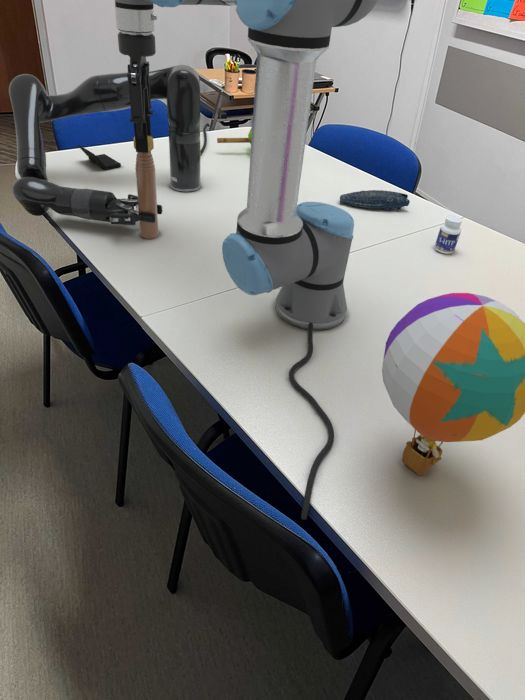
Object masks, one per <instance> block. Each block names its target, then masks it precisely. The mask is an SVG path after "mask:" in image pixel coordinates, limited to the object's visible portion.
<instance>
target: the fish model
mask: <svg viewBox="0 0 525 700" xmlns="http://www.w3.org/2000/svg"><path fill="white" fill-rule="evenodd" d="M410 202H411V201H410V200H409V195H408V194H406V193H403V192H402V193H401V192H399V191H392V190H382V189H380V190H379V189H377V190H376V189H368V190H360V191H352V192H348V193H344V194H341V195H340V196H339V203H343V204H346V205H349V206H351V207H357V208H362V209H371V210H372V209H374V210H384V211H385V210H386V211H391V210H394V209H397V210H402V208H404V207H408V206H409V205H410Z"/></svg>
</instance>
